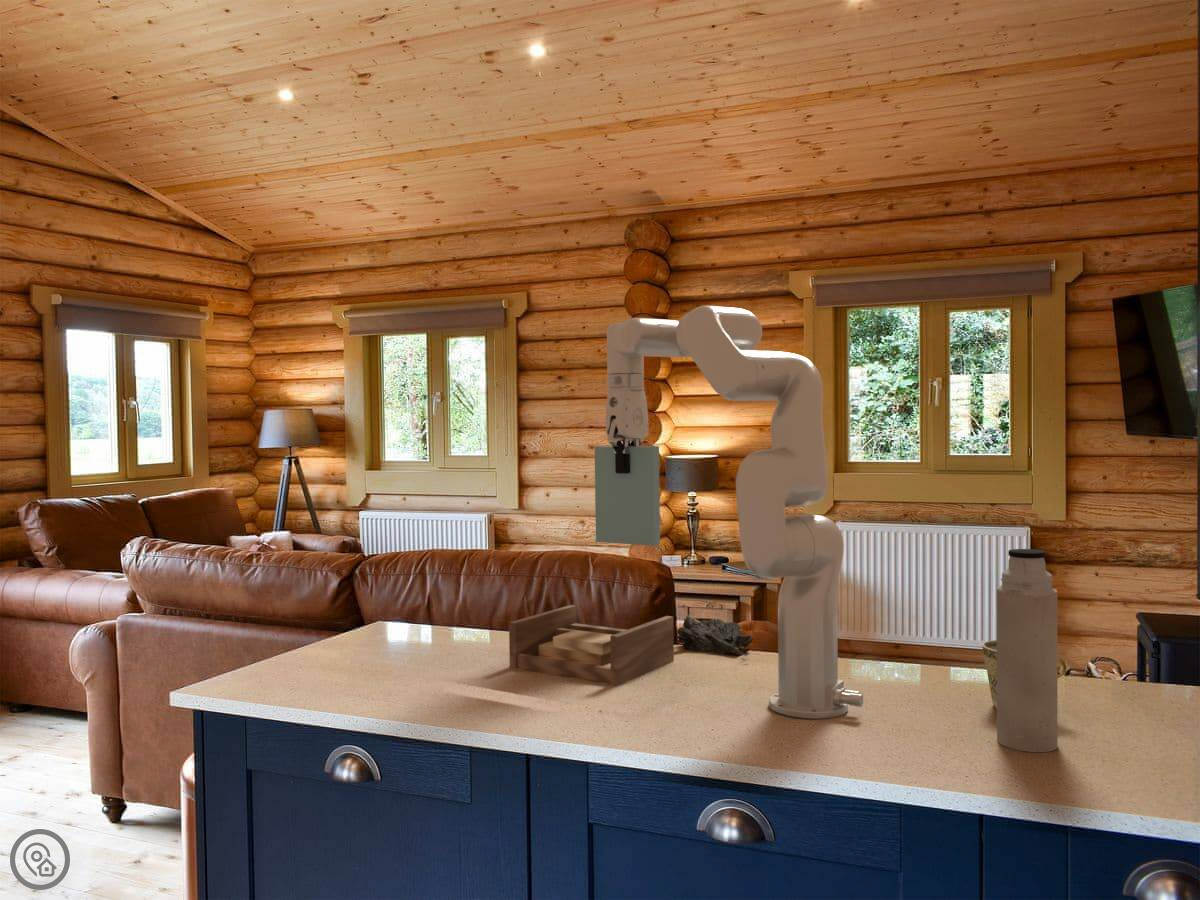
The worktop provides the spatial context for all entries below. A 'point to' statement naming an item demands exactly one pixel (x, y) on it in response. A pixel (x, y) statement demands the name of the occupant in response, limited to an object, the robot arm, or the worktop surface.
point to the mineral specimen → (713, 637)
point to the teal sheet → (627, 497)
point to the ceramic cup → (991, 667)
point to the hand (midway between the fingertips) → (626, 472)
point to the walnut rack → (628, 647)
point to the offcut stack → (579, 648)
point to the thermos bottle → (1027, 654)
